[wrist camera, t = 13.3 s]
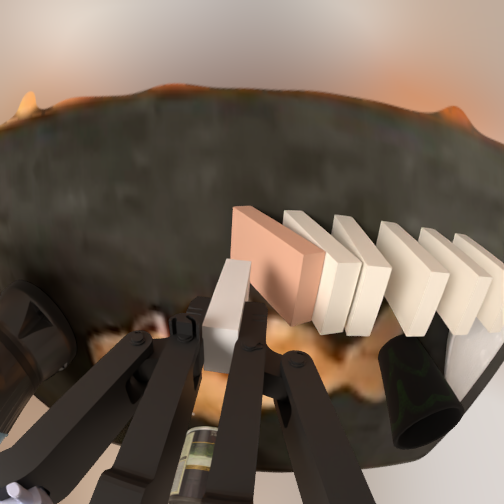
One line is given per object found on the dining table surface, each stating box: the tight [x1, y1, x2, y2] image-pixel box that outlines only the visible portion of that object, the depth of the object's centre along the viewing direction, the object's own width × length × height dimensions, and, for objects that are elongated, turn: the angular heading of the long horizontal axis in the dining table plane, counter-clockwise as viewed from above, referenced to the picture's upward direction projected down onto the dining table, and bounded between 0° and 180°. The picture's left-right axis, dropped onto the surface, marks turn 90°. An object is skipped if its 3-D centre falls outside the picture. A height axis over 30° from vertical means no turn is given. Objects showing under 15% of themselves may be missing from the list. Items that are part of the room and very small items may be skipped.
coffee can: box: [168, 426, 218, 504], centre depth 34 cm, size 10×10×14 cm
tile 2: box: [331, 215, 392, 336], centre depth 21 cm, size 2×5×10 cm, turn 176°
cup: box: [378, 334, 464, 449], centre depth 25 cm, size 8×8×12 cm
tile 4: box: [418, 227, 493, 335], centre depth 20 cm, size 2×5×10 cm, turn 176°
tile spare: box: [231, 206, 325, 327], centre depth 21 cm, size 2×5×10 cm
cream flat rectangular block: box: [453, 233, 504, 333], centre depth 20 cm, size 2×5×10 cm, turn 176°
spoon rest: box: [444, 317, 504, 402], centre depth 27 cm, size 24×12×7 cm, turn 164°
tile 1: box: [283, 210, 362, 335], centre depth 21 cm, size 2×5×10 cm, turn 176°
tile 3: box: [376, 221, 450, 337], centre depth 20 cm, size 2×5×10 cm, turn 176°
